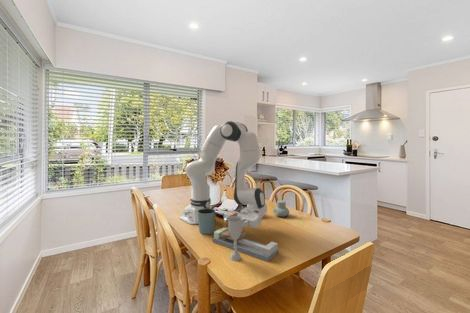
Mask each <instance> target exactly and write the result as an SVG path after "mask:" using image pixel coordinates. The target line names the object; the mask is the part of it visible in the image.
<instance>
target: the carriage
mask: <svg viewBox="0 0 470 313" xmlns="http://www.w3.org/2000/svg"><path fill="white" fill-rule="evenodd" d="M230 216H237V213H230V214H229V217H230ZM221 237H224V238H227V239H230V240H233V241H234V239H233V238H232V237H231V235H230V232H229V229H228V230H226V231H224V232H222V233H221ZM246 237H247V233H246V232H243V231H242V232H241V235H240V237H239V239H237V241H239V240H240V239H242V238H246Z"/></svg>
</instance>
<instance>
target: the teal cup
mask: <svg viewBox="0 0 470 313" xmlns="http://www.w3.org/2000/svg"><path fill="white" fill-rule="evenodd" d="M197 213H198V221H199V224H198V232H199V233H200V234H202V235H211V234H214V232H215V231H216V230H215V228H216V225H215V223H216V220H215V219H216V209H214V208H204V209H200V210H198V211H197Z"/></svg>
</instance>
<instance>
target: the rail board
mask: <svg viewBox="0 0 470 313" xmlns="http://www.w3.org/2000/svg"><path fill="white" fill-rule="evenodd" d="M226 230H228V227H225V226H223V227H222V228H219V229H217V230H214V232H213V237H212V243H214V244H218V245H220V246H223V247H225V248H228V249H231V250H234V241H233V240H230V239H227V238H224V237H221V233H222V232H224V231H226ZM237 247H238V248H237V252H239V253H243V254H245V255H248V256H251V257H254V258H256V259H259V260H261V261H264V262H267V263H268V262H270V261H271V260H272V259H273V258H274V257H276V255H278V254H279V248H278V242H275V241H270V242H269V243H268V244H265V243H262V242H258V241H256V240H252V239H249V238H246V237H244V238H242V239H240V240H239V241H237Z"/></svg>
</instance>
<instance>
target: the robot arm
mask: <svg viewBox="0 0 470 313" xmlns="http://www.w3.org/2000/svg"><path fill="white" fill-rule="evenodd" d="M226 141H231V142H237V143H238V145H239V159H238V161H237V162H236V166H235V178H234V179H235V180H234V190H233V201H234V202H235V203H236V204H237V205H238V206H246V207H243V208H241V209H240V210H239V211H237V210H233V209H232V210H229V211H225V212H223V222H224V223H226V224H227V223H228V219H227V218H228V217H229V214H230V213H237V216H241V217H243V218H244V219H243V227H251V228H257V227H259V226H261V225H262V221H263V220H262V218H264V216H266V214H267V211H268V205H267V204H266V195H265V193H264V191H263V190H262V189H261V188H260V187H245V175H246V172H247V171H248V170H249V169H251V168H253V167H254V166H256V165H257V164H258V162H259V161H260V157H261V155H260V147H259V141H258V137H257V134H255V132H252V131H249V129H248V128H247V126H246V125H245V124H244V123H242V122H238V121H232V120H231V121H229V120H228V121H224V123H223V124H216V125H214V126H213V127H212V128H211V129H210V132H209V133H208V134H207V137H206V139H205V141H204V142H203V144H202V146H201V148H200V151H201V153H200V158H199V159H198V160H192V161H191V162H190V163H187V165H186V166H185V174H186V176H187V177H188V178H189V180H190V183H191V188H192V190H191V191H192V198H190V199H189V202H190V203H189V204H188V206H186V207H185V208H184V209H183V213H182V215H180V216H179V219H180V220H182V221H183V222H185V223H186V224H187V223H188V224H189V225H199V221H198V213H197V211H198V210H200V209H204V208H211V204H212V203H211V202H212V200H211V199H212V198H211V186H210V185H209V184H208V181H207V176H210V175H211V174H212V173H213V172H214V171H215V168H216V166H215V165H216V162H217V158H218V156H219V155H220V152H221V150H222V148H223V146H224V145H225V142H226ZM247 205H248V207H247ZM211 209H212V208H211Z"/></svg>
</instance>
